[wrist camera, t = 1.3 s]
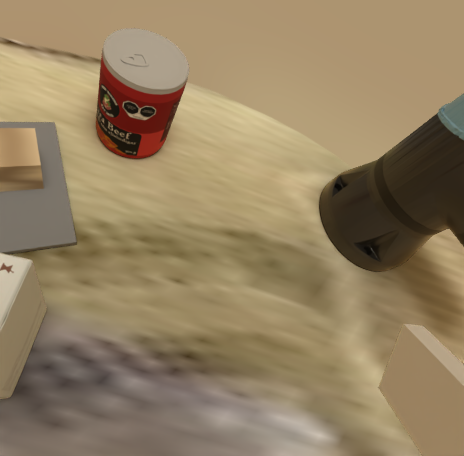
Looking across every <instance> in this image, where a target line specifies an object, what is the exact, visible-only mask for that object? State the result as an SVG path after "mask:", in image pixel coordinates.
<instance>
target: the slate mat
mask: <svg viewBox="0 0 464 456" xmlns="http://www.w3.org/2000/svg"><path fill="white" fill-rule="evenodd" d="M0 128H35V132H36V138H37V145H38V151H39V157H40V163H41V171H42V178H43V186H44V189H32V190H18V191H3V192H0V253H4V254H13V253H20V252H27V251H34V250H41V249H48V248H55V247H62V246H69V245H76V244H77V241H76V236H75V231H74V225H73V220H72V214H71V209H70V203H69V198H68V192H67V187H66V182H65V176H64V171H63V165H62V160H61V154H60V149H59V143H58V138H57V133H56V127H55V123H54V122H0Z"/></svg>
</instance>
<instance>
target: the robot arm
mask: <svg viewBox="0 0 464 456" xmlns="http://www.w3.org/2000/svg"><path fill="white" fill-rule="evenodd" d="M320 213H321V218H322V222H323V225H324V227H325V230H326V232H327V234H328V236H329V237H330V239H331V240H332V242H333V243H334V245H335V246H336V247H337V249H338V250H339V251H340V252H341V253H342V254H343V255H344V256H345V257H346V258H348V259H349V260H350V261H351V262H353V263H354V264H356V265H358V266H360V267H362V268H364V269H367V270H371V271H378V272H380V271H387V270H389V269H392V268H394V267H397V266H399V265H401V264H403V263H404V262H406V261H407V260H408V259H409V258H410V257H411V256H412V255H413V254H414V253H415V252H416V251H417V250H418V249H419V248H420V247H421V246H422V245H423V244H424V243H425V242H426V241H427V240H429V239H430V238H431V237H432V236H433V235H435V234H437V233H439V232H441V231H443V230H446V229H450V230H451V231H452V232H453V234H454V235H455V236H456V237H457V239H458V240H459V241H460V243H461V244H462V245H463V247H464V94H462V95H461V96H459V97H458V98H457V99H455V100H454V101H452V102H451V103H448V104H446V105H444V106H442V107H441V108H440V109H439V112H438V113H437V114H436V115H435V116H433V117H432V118H431V119H429V120H428V121H427V122H426V123H424V124H423V125H422V126H421V127H419V128H418V129H417V130H416V131H414V132H413V133H412V134H410V135H409V136H408V137H406V138H405V139H404V140H402V141H401V142H400V143H399V144H397V145H396V146H395V147H394V148H392V149H391V150H390V151H388V152H387V153H386V154H384V155H383V156H382V157H381V158H379V159H378V160H376V161H373V162H371V163H368V164H365V165H362V166H359V167H356V168H353V169H351V170H348V171H345V172H343V173H341V174H339V175H338V176H337V177H335V178H334V179H333V180H332V181H331V182H329V183H328V184H327V185H326V186H325V188H324V190H323V192H322V194H321V198H320ZM378 388H379V389H380V391H381V393H382V394H383V396H384V397H385V399H386V400H387V402H388V403H389V405H390V406H391V408H392V410H393V411H394V413H395V414H396V416H397V417H398V419H399V420H400V422H401V423H402V425H403V426H404V428H405V430H406V431H407V433H408V434H409V436H410V437H411V439H412V440H413V442H414V443H415V445H416V447H417V448H418V450H419V451H420V453H421V454H422V456H464V364H463V363H462V362H461V361H460V360H459V359H458V358H457V357H456V356H454V355H453V354H452V353H451V352H450V351H449V350H448V349H447V348H446V347H445V346H444V345H443V344H442V343H441V342H440V341H439V340H438V339H437V338H436V337H434V336H433V335H432V334H431V333H430V332H429V331H428V330H427V329H426V328H425V327H424V326H421V325H413V324H404V323H403V325H402V327H401V330H400V333H399V335H398V338H397V340H396V343H395V346H394V348H393V351H392V353H391V356H390V359H389V361H388V364H387V366H386V369H385V372H384V374H383V377H382V380H381V382H380V385H379V387H378Z"/></svg>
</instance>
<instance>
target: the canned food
mask: <svg viewBox="0 0 464 456" xmlns="http://www.w3.org/2000/svg"><path fill="white" fill-rule="evenodd" d="M188 74H189V64H188V61H187V59H186V57H185V55H184V54H183V52H182V51H181V50H180V49H179V48H178V47H177V46H176V45H175V44H174V43H172V42H171V41H169V40H168V39H166V38H165V37H163V36H161V35H159V34H156V33H154V32H151V31H147V30H143V29H136V28H126V29H121V30H118V31H115V32H113V33H112V34H110V35H109V36H108V37H107V39H106V40H105V43H104V46H103V50H102V58H101V68H100V80H99V92H98V105H97V117H96V129H97V132H98V135H99V137H100V139H101V141H102V142H103V144H104V145H105V146H106V147H107V148H108V149H110V150H111V151H113V152H114V153H116V154H118V155H121V156H124V157H128V158H144V157H148V156H150V155H153V154H154V153H155V152H157V151H158V150H159V149H160V148H161V147H162V145H163V144H164V142H165V140H166V137H167V134H168V132H169V129H170V126H171V123H172V121H173V118H174V115H175V113H176V110H177V107H178V105H179V102H180V99H181V96H182V94H183V91H184V88H185V85H186V82H187V79H188Z"/></svg>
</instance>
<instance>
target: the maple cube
mask: <svg viewBox="0 0 464 456" xmlns="http://www.w3.org/2000/svg"><path fill="white" fill-rule="evenodd" d="M32 189H44V186H43V178H42V171H41V163H40V157H39V151H38V145H37V138H36V132H35V128H0V192H3V191H18V190H32Z"/></svg>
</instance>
